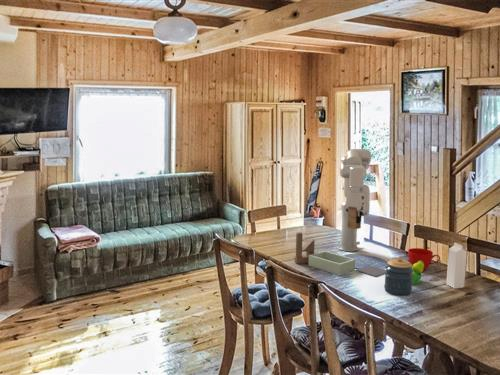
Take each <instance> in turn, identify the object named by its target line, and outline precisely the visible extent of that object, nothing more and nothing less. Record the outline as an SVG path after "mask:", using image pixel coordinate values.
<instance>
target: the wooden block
mask: <svg viewBox="0 0 500 375" xmlns="http://www.w3.org/2000/svg"><path fill="white" fill-rule="evenodd" d="M295 234H296V236H295V256H294V263H295V264H296V265H299V264H308V262H309V255H311V254H315V238H313V237H312V238H311V239H310V240H308V241H307V243H306V244H305V245H304V246H303V232H300V231H299V232H296V233H295ZM305 252H306V255H303V253H305Z"/></svg>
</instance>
